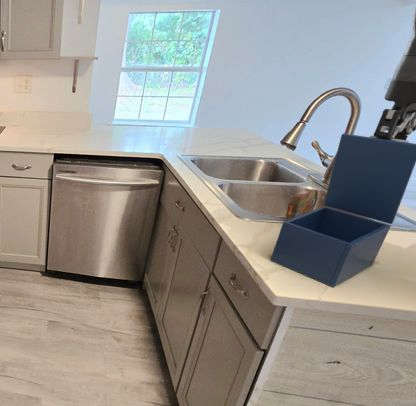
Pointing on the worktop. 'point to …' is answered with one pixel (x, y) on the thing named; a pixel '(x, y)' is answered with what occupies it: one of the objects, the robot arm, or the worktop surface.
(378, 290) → the worktop surface
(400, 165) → the box lid
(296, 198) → the tin
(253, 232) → the worktop surface
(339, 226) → the blue box
